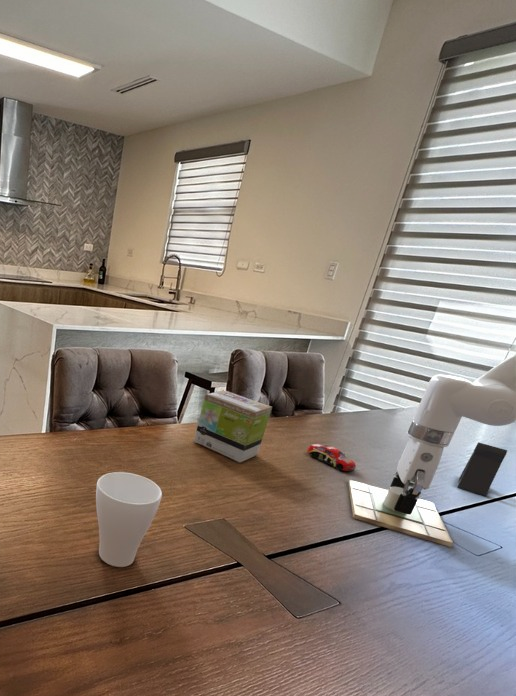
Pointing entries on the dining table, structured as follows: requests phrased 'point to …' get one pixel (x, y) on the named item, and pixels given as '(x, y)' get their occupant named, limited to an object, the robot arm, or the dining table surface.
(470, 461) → the phone stand
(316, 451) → the race car
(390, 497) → the white cylinder puck
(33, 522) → the dining table surface
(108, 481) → the cup
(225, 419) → the tea box
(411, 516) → the board
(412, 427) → the robot arm
